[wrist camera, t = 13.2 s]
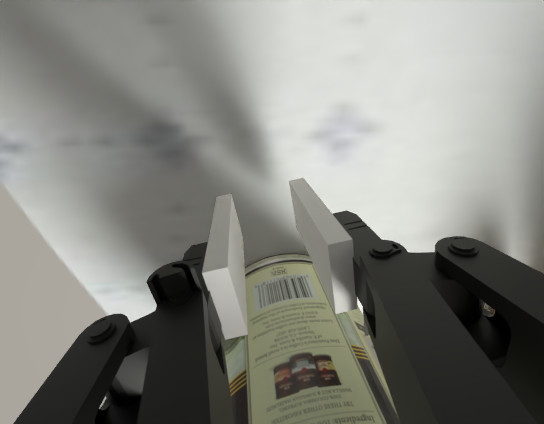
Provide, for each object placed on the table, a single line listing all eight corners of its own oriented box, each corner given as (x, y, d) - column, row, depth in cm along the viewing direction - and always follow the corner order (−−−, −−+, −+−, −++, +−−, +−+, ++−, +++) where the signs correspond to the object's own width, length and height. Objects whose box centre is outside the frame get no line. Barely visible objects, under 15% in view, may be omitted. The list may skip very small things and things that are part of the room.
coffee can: (269, 374, 24) (307, 698, 11) (189, 304, 20) (104, 680, 7) (371, 314, 23) (550, 605, 10) (307, 225, 19) (464, 518, 6)
